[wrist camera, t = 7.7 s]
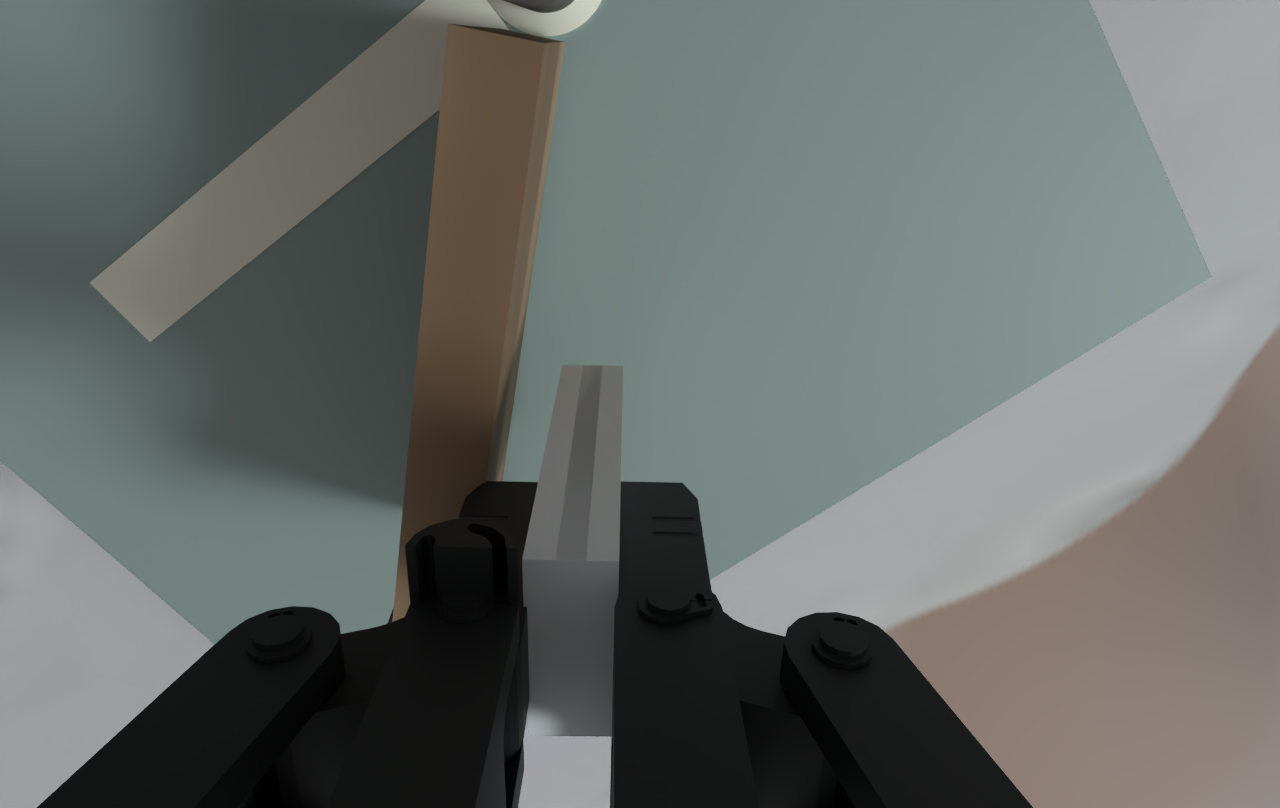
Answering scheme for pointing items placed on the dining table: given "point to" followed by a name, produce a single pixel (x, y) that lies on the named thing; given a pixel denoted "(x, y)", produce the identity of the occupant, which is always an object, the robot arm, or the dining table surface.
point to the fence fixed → (542, 5)
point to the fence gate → (476, 268)
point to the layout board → (541, 258)
